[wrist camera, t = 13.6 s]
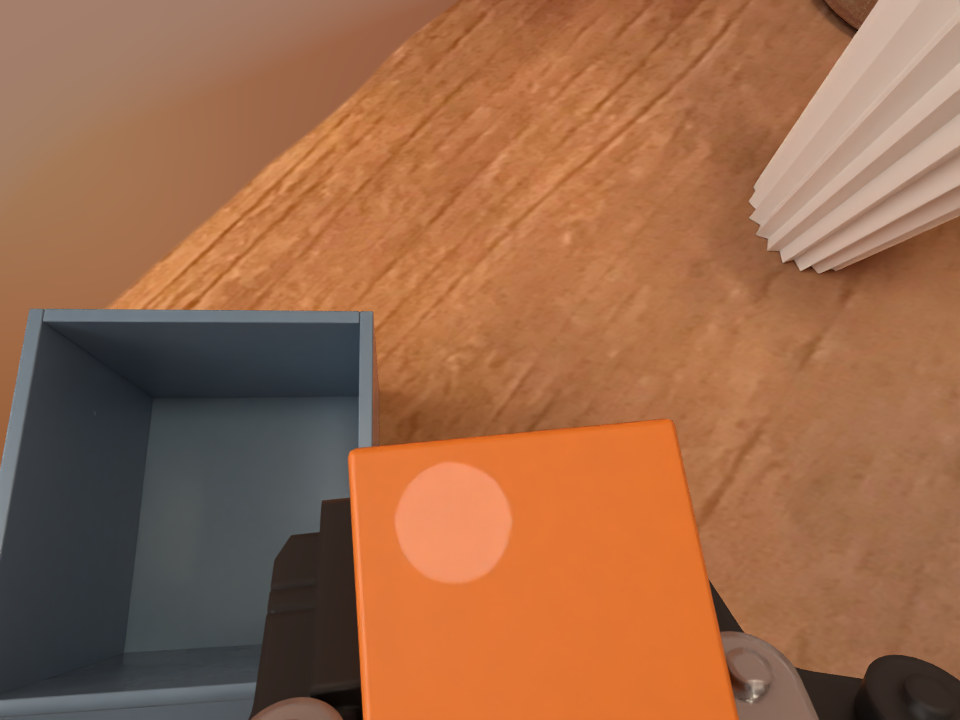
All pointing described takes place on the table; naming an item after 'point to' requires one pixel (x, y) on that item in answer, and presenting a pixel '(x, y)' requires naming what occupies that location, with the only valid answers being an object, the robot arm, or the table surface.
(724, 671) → the block
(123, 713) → the gray box lid
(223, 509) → the blue box
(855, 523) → the table surface
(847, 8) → the planter
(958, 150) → the vase
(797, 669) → the robot arm
